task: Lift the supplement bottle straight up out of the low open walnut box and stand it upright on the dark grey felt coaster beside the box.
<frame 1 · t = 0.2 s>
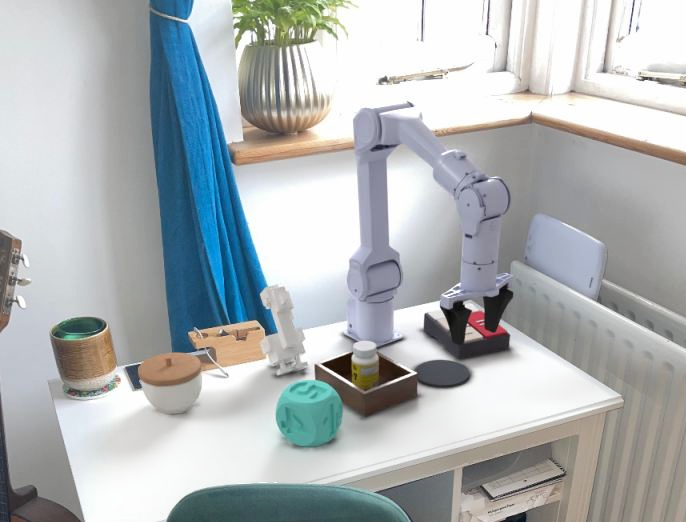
hand: (474, 336, 135), 10 cm above the table, tool pointing down, fingers open, 7 cm apart
supplement bottle: (365, 389, 142), resting on box
coaster: (441, 374, 146), on the table
trinket box: (176, 406, 141), on the table
voxel character: (285, 367, 151), on the table
box: (365, 390, 142), on the table
decorative dice: (310, 435, 131), on the table
calculator: (465, 340, 158), on the table
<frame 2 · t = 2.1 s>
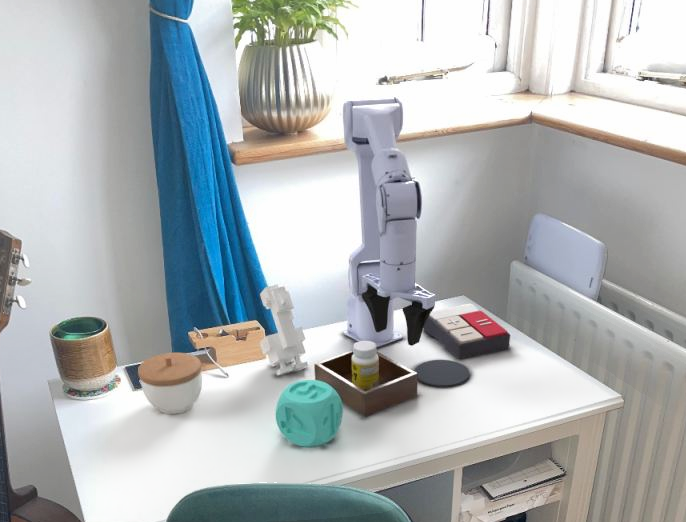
hand: (397, 336, 136), 10 cm above the table, tool pointing down, fingers open, 7 cm apart
nothing on the table moved.
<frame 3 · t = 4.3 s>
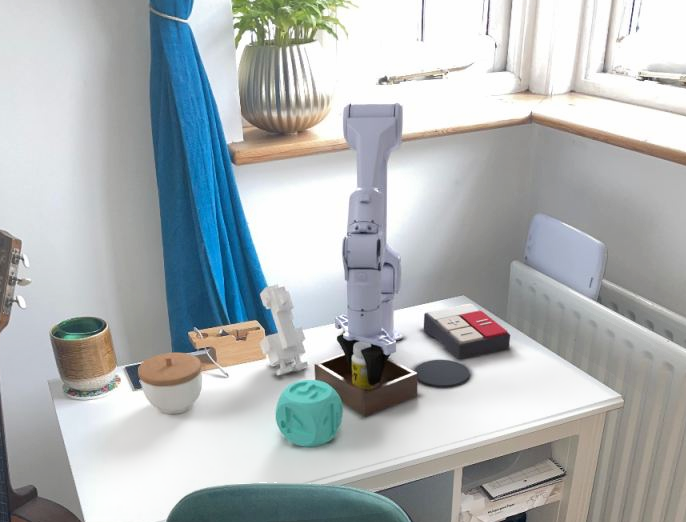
hand: (365, 377, 141), 3 cm above the table, tool pointing down, fingers closed on supplement bottle, 5 cm apart
supplement bottle: (365, 389, 142), resting on box, touching gripper
everything else where it was.
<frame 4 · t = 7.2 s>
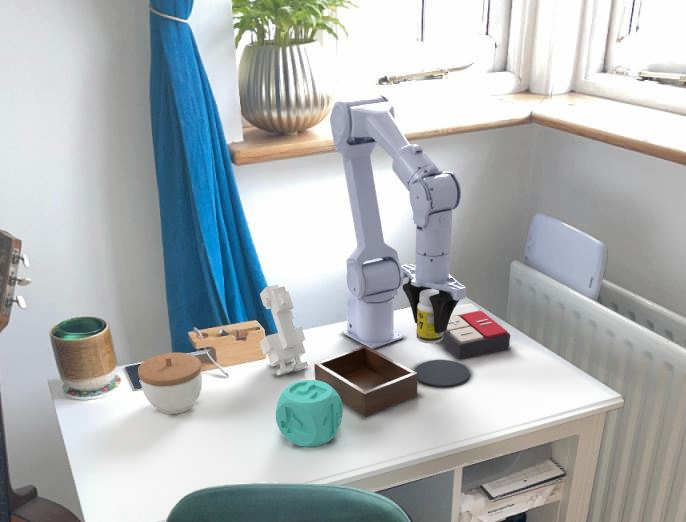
hand: (430, 326, 140), 10 cm above the table, tool pointing down, fingers closed on supplement bottle, 5 cm apart
supplement bottle: (429, 339, 141), point 7 cm above the table, touching gripper
everything else where it was.
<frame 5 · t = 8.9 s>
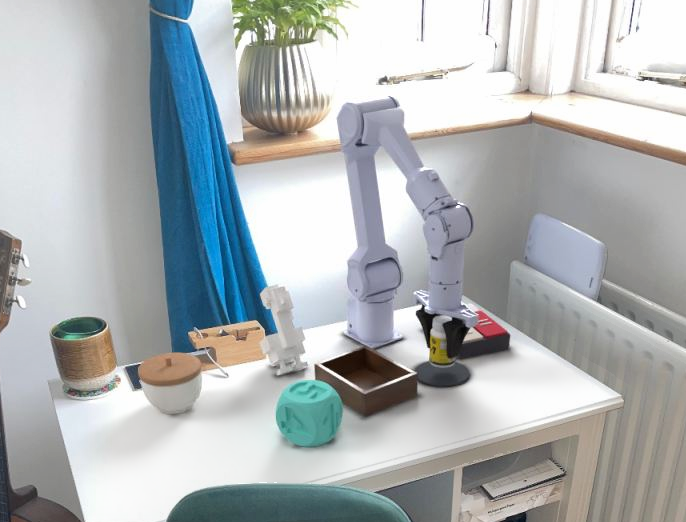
hand: (442, 351, 143), 5 cm above the table, tool pointing down, fingers closed on supplement bottle, 5 cm apart
supplement bottle: (442, 363, 145), point 2 cm above the table, touching gripper
everything else where it was.
when the fingers open (3 cm above the table, at t = 10.1 s): supplement bottle stays where it is, resting on coaster.
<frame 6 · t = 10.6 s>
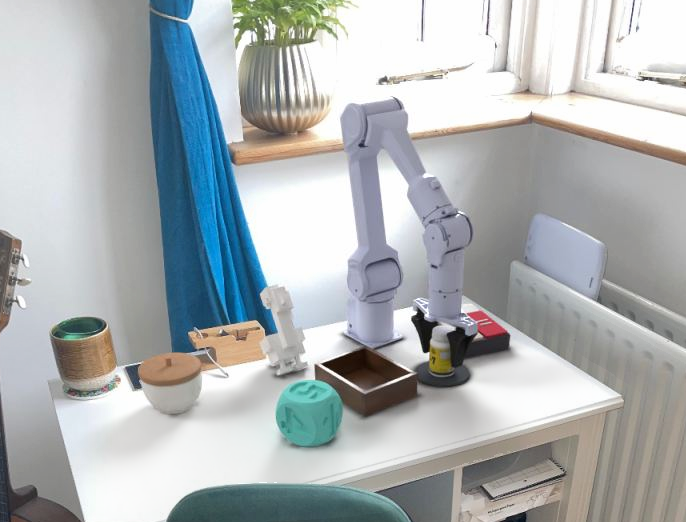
hand: (442, 358, 144), 3 cm above the table, tool pointing down, fingers open, 7 cm apart
supplement bottle: (441, 373, 146), resting on coaster
everything else where it was.
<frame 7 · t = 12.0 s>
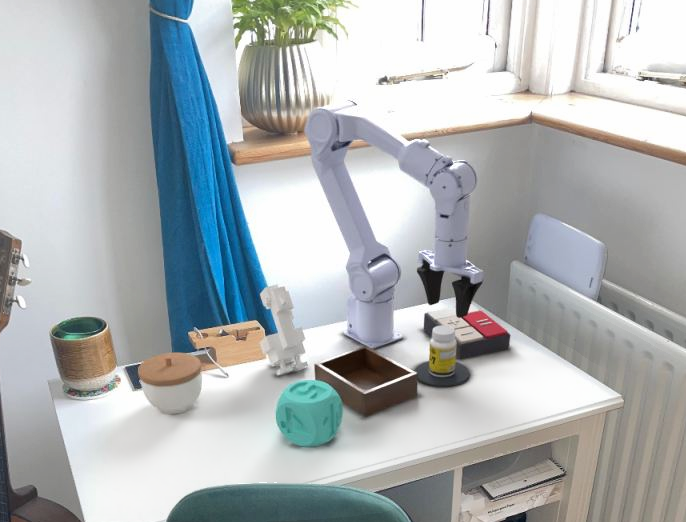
hand: (447, 309, 147), 9 cm above the table, tool pointing down, fingers open, 7 cm apart
nothing on the table moved.
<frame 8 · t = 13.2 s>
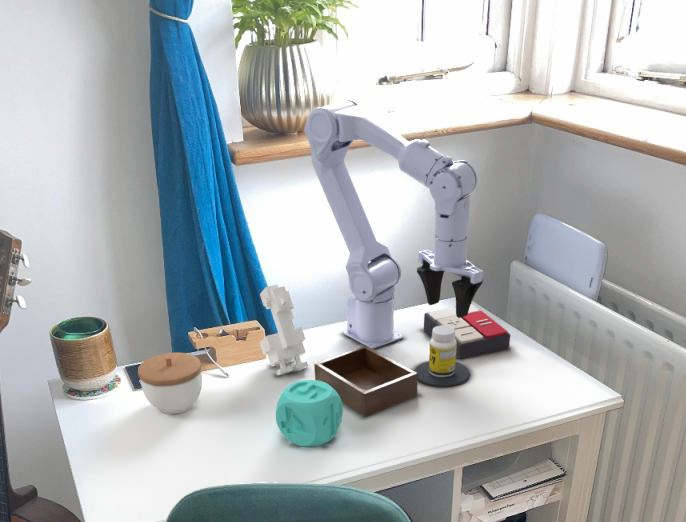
hand: (447, 309, 147), 9 cm above the table, tool pointing down, fingers open, 7 cm apart
nothing on the table moved.
at the end: supplement bottle 0.0 cm off-centre on the coaster, point 0.2 cm above the coaster's base; supplement bottle tilted 0°; supplement bottle touching coaster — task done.
